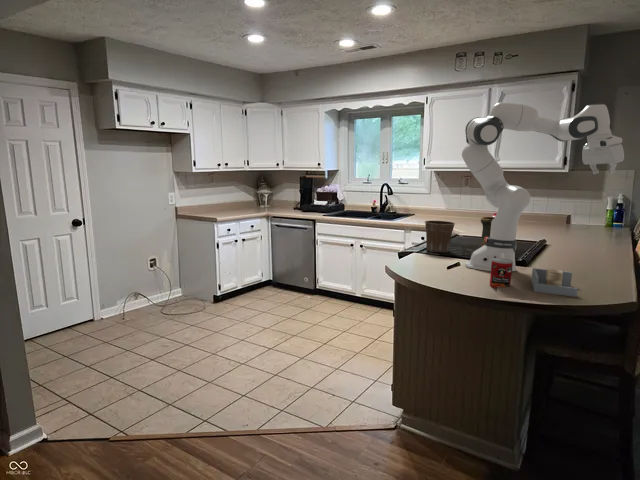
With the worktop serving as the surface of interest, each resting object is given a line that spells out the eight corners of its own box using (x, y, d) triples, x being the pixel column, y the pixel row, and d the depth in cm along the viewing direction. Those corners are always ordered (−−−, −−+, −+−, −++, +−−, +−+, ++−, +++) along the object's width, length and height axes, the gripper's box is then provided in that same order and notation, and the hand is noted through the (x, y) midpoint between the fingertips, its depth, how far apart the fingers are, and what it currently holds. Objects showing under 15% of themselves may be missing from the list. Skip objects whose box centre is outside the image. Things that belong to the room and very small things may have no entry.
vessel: (500, 258, 222) (503, 220, 218) (474, 254, 231) (476, 217, 228) (510, 254, 232) (513, 218, 229) (484, 251, 242) (487, 216, 238)
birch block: (546, 289, 165) (548, 271, 163) (544, 285, 169) (546, 268, 168) (560, 291, 163) (563, 273, 161) (559, 287, 167) (561, 270, 166)
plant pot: (429, 246, 249) (431, 219, 246) (456, 250, 240) (459, 222, 237) (418, 251, 236) (420, 222, 233) (446, 255, 227) (449, 225, 224)
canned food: (489, 287, 168) (492, 260, 166) (489, 282, 175) (491, 256, 173) (510, 290, 165) (513, 262, 163) (509, 285, 173) (512, 258, 171)
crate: (533, 294, 161) (535, 277, 160) (531, 283, 176) (532, 268, 175) (576, 299, 156) (578, 282, 155) (569, 287, 171) (571, 272, 170)
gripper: (576, 145, 193) (580, 175, 195) (610, 141, 173) (615, 175, 175) (589, 142, 193) (593, 172, 196) (625, 138, 173) (629, 171, 175)
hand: (604, 173), depth 185 cm, fingers open, 8 cm apart
